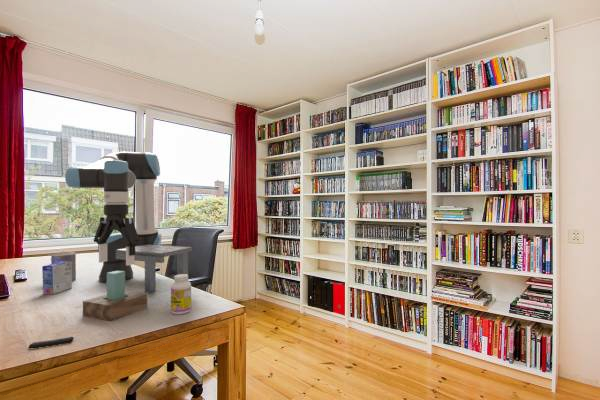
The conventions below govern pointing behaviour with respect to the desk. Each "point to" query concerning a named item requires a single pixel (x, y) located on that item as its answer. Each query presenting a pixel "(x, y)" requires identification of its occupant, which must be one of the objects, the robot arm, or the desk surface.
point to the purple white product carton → (67, 260)
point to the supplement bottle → (180, 295)
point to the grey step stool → (157, 260)
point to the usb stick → (51, 342)
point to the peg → (115, 285)
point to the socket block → (114, 306)
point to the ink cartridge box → (57, 276)
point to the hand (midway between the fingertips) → (116, 263)
